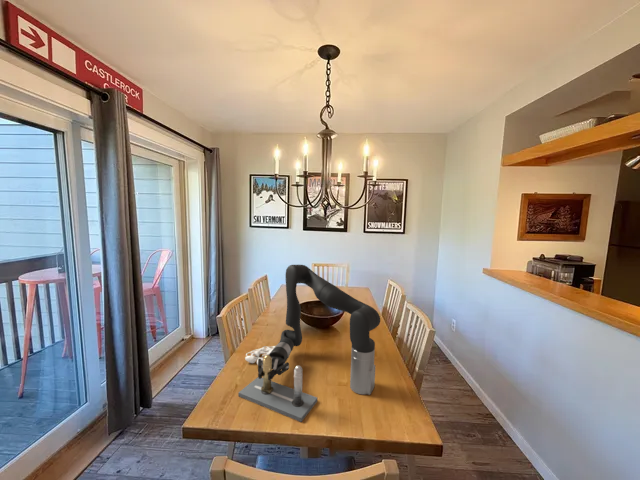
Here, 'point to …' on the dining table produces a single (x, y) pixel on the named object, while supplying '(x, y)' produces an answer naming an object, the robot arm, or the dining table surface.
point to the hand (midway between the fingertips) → (264, 377)
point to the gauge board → (278, 399)
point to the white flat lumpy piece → (258, 354)
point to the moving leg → (266, 370)
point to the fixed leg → (298, 385)
